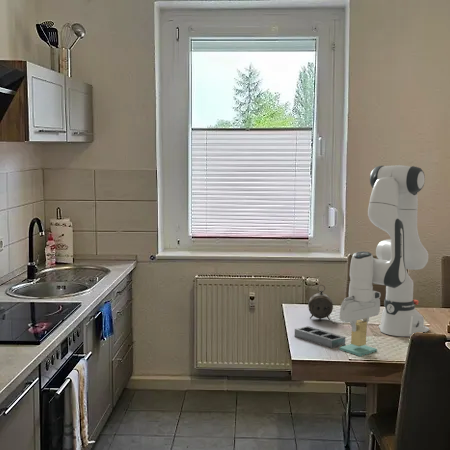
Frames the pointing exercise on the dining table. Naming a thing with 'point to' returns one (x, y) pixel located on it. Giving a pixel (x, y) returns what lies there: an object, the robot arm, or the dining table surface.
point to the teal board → (358, 349)
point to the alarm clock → (320, 305)
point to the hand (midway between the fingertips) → (359, 330)
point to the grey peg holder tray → (320, 337)
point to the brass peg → (359, 334)
